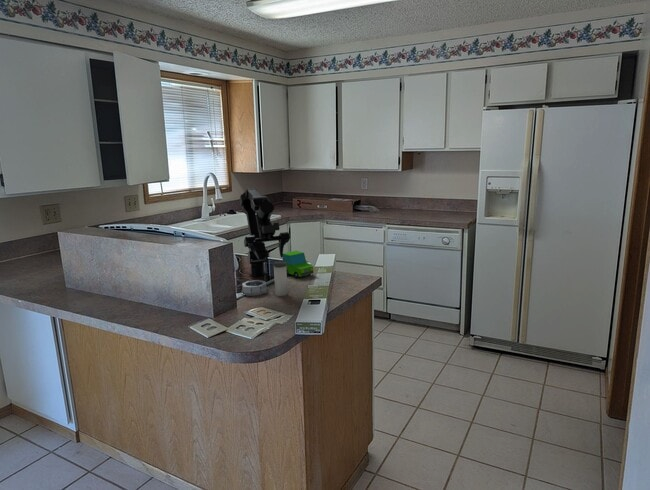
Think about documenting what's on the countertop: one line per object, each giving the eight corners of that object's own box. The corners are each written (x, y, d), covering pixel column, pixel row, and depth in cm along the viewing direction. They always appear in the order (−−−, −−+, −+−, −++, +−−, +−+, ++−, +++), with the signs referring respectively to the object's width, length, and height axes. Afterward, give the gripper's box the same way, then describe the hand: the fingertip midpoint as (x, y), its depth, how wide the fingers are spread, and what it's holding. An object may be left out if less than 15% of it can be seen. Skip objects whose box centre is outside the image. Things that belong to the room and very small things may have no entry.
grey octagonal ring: (251, 286, 193) (251, 278, 193) (273, 289, 188) (272, 281, 188) (235, 294, 184) (235, 285, 183) (257, 297, 179) (257, 288, 178)
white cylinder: (279, 291, 186) (277, 261, 183) (290, 292, 183) (289, 262, 181) (272, 295, 181) (270, 264, 178) (283, 296, 179) (281, 265, 176)
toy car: (298, 280, 201) (297, 258, 199) (281, 274, 211) (280, 254, 209) (316, 275, 208) (315, 254, 206) (298, 270, 217) (297, 250, 215)
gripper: (244, 217, 178) (250, 254, 173) (289, 214, 184) (296, 249, 179) (241, 228, 188) (247, 263, 183) (284, 225, 194) (291, 258, 189)
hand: (270, 258), depth 183 cm, fingers open, 9 cm apart
